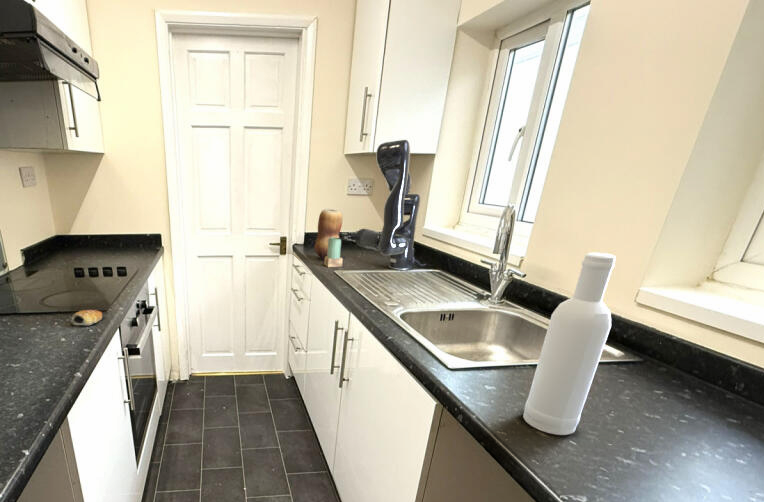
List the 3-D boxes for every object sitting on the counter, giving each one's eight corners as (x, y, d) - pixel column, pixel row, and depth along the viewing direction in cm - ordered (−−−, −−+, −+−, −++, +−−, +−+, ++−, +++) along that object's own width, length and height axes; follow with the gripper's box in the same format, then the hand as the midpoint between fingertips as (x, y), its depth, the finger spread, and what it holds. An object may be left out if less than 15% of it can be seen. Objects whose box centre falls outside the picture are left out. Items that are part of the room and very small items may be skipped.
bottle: (557, 411, 77) (609, 250, 65) (586, 436, 69) (650, 259, 58) (513, 410, 77) (557, 249, 66) (537, 435, 70) (591, 259, 59)
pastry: (91, 315, 129) (89, 304, 128) (109, 318, 127) (107, 306, 126) (69, 325, 121) (67, 312, 119) (88, 328, 119) (86, 315, 117)
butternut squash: (339, 262, 207) (343, 210, 198) (313, 261, 209) (315, 210, 200) (339, 257, 220) (343, 208, 210) (314, 256, 222) (317, 208, 212)
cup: (337, 256, 201) (338, 237, 198) (341, 258, 196) (343, 239, 192) (325, 256, 200) (326, 237, 197) (329, 258, 195) (330, 239, 191)
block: (337, 264, 203) (338, 256, 201) (342, 266, 197) (342, 258, 196) (324, 264, 202) (324, 256, 200) (328, 267, 196) (328, 258, 195)
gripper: (384, 229, 170) (362, 224, 184) (354, 230, 166) (334, 226, 180) (382, 247, 173) (360, 241, 187) (352, 249, 169) (333, 243, 183)
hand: (347, 233), depth 184 cm, fingers open, 8 cm apart
